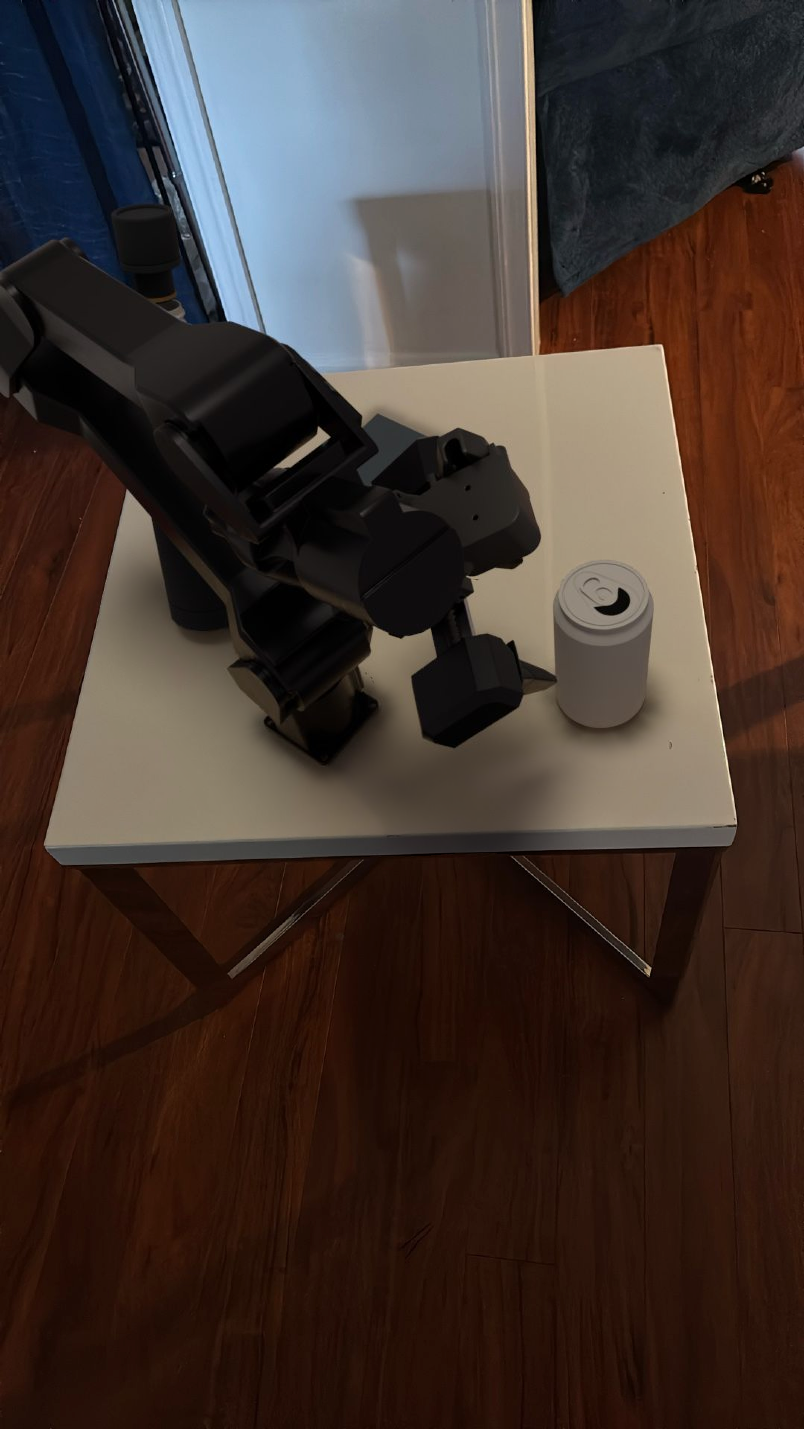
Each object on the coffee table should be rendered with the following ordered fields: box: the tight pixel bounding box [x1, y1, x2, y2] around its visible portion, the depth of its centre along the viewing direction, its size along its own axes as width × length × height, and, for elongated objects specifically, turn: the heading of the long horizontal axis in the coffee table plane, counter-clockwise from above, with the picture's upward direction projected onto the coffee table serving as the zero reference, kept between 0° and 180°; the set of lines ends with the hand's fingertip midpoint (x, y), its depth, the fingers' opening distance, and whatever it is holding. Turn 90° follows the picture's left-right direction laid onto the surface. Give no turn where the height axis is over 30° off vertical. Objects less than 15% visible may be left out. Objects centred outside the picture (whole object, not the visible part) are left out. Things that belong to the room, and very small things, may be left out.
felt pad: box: [357, 413, 429, 486], centre depth 92 cm, size 9×9×1 cm
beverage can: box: [552, 559, 655, 729], centre depth 71 cm, size 6×6×12 cm
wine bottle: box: [110, 202, 230, 633], centre depth 75 cm, size 6×6×30 cm
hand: (534, 621), depth 66 cm, fingers open, 9 cm apart
